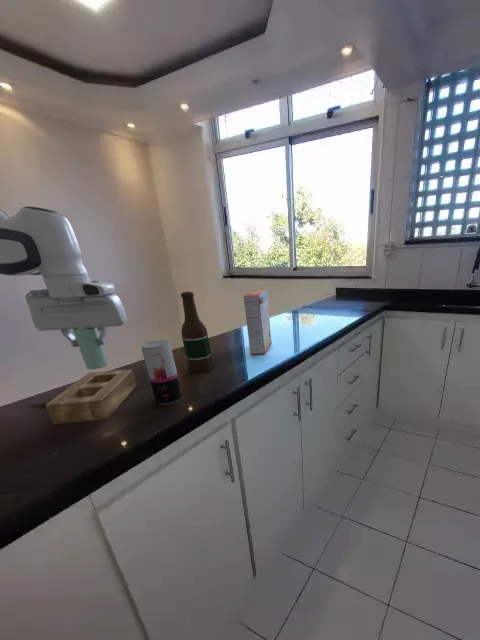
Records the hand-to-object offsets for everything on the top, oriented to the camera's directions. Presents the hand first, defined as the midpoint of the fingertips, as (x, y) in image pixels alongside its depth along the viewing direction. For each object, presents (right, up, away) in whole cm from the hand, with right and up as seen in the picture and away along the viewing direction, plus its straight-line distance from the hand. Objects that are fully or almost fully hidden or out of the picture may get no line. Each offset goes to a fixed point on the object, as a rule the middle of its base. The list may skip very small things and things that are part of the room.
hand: (90, 345), depth 79 cm
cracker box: (+39, +6, +41) cm, 56 cm away
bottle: (0, -5, +3) cm, 6 cm away
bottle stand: (+1, -15, +2) cm, 15 cm away
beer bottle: (+21, -4, +23) cm, 31 cm away
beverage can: (+19, -14, +3) cm, 24 cm away
